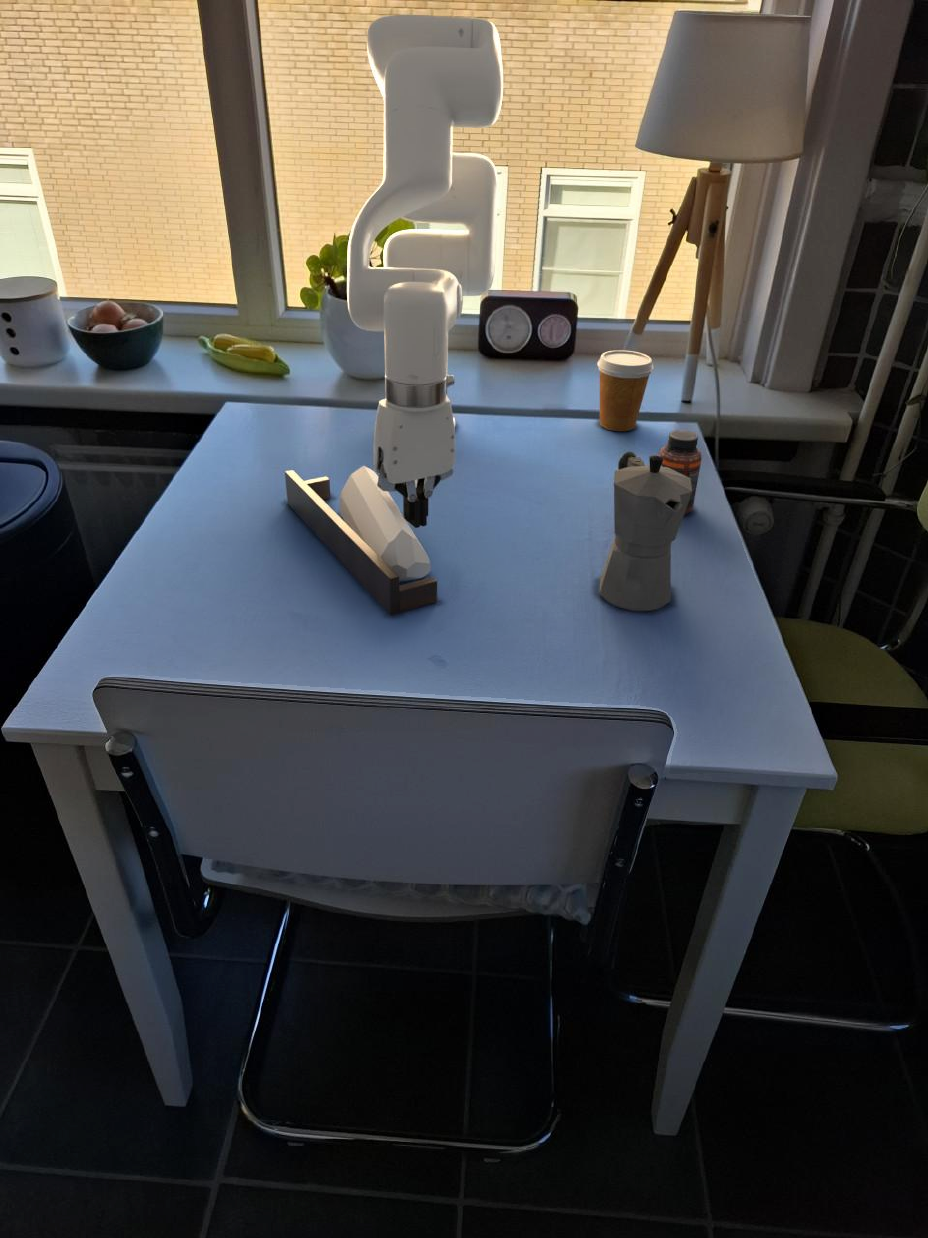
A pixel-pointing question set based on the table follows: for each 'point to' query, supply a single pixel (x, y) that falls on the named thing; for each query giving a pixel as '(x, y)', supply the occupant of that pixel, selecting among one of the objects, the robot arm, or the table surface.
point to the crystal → (382, 525)
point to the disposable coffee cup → (622, 388)
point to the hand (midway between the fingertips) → (415, 522)
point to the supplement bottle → (683, 458)
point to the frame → (355, 548)
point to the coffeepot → (643, 533)
